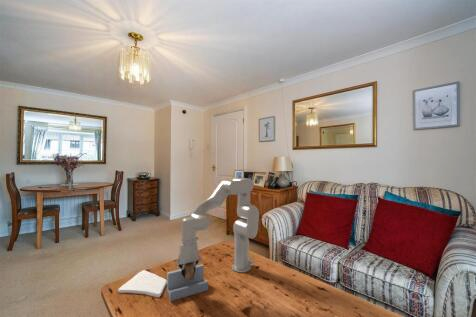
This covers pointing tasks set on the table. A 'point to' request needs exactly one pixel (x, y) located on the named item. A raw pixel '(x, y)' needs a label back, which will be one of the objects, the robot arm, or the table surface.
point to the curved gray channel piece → (185, 283)
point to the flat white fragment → (144, 284)
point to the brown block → (189, 271)
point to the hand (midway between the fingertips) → (188, 274)
